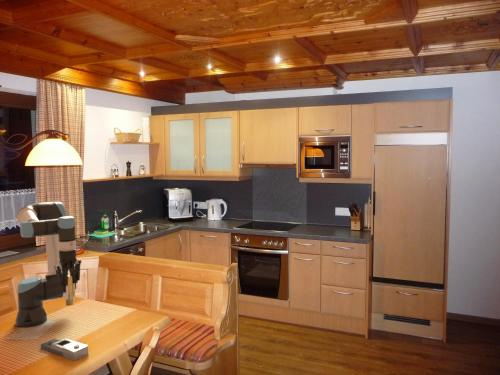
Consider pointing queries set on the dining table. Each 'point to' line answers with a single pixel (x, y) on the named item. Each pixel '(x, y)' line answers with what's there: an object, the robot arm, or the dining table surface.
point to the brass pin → (69, 290)
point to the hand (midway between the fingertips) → (69, 297)
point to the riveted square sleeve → (66, 348)
